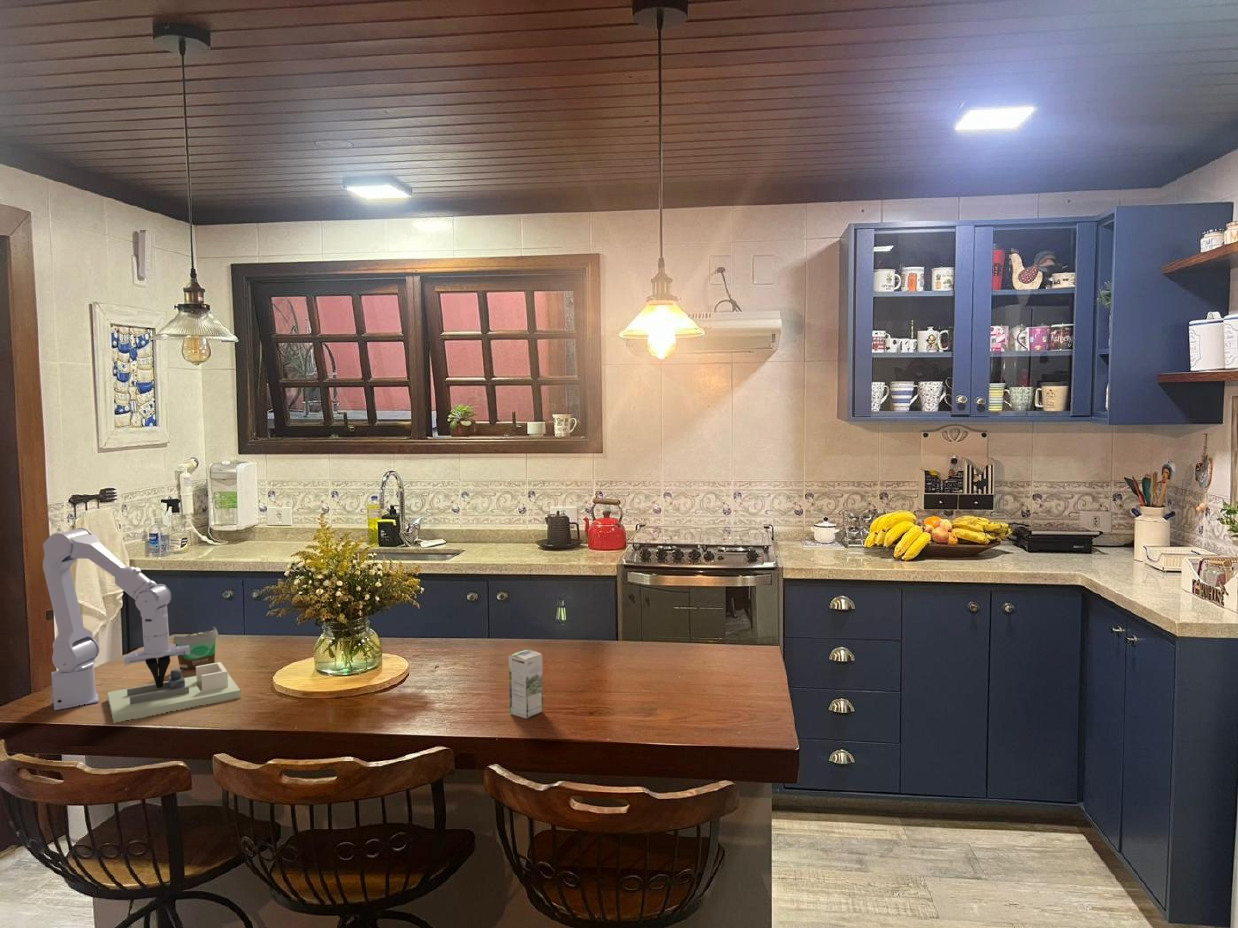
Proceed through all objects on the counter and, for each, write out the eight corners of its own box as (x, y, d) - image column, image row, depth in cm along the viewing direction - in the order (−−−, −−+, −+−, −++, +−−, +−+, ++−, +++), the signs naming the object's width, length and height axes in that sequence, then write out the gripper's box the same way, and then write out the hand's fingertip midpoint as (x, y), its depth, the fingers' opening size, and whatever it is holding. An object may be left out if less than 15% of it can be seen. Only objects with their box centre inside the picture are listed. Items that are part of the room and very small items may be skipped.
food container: (185, 674, 236) (182, 639, 236) (174, 670, 240) (172, 636, 239) (228, 663, 246) (226, 629, 245) (217, 659, 250) (215, 626, 249)
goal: (202, 691, 216) (201, 676, 216) (196, 681, 224) (195, 666, 224) (228, 686, 219) (227, 671, 219) (221, 676, 228) (220, 661, 227)
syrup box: (526, 707, 205) (524, 648, 204) (544, 712, 201) (542, 652, 200) (509, 714, 201) (507, 654, 200) (527, 719, 197) (525, 658, 196)
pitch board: (113, 723, 201) (112, 708, 201) (107, 699, 217) (106, 686, 217) (240, 697, 217) (240, 683, 216) (226, 677, 233) (225, 664, 233)
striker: (172, 694, 214) (170, 674, 214) (169, 687, 219) (167, 668, 218) (185, 691, 216) (184, 672, 215) (182, 685, 221) (180, 666, 220)
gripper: (124, 642, 206) (127, 697, 208) (190, 632, 215) (193, 684, 216) (121, 636, 212) (125, 689, 213) (186, 626, 220) (189, 677, 222)
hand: (159, 686), depth 215 cm, fingers closed
